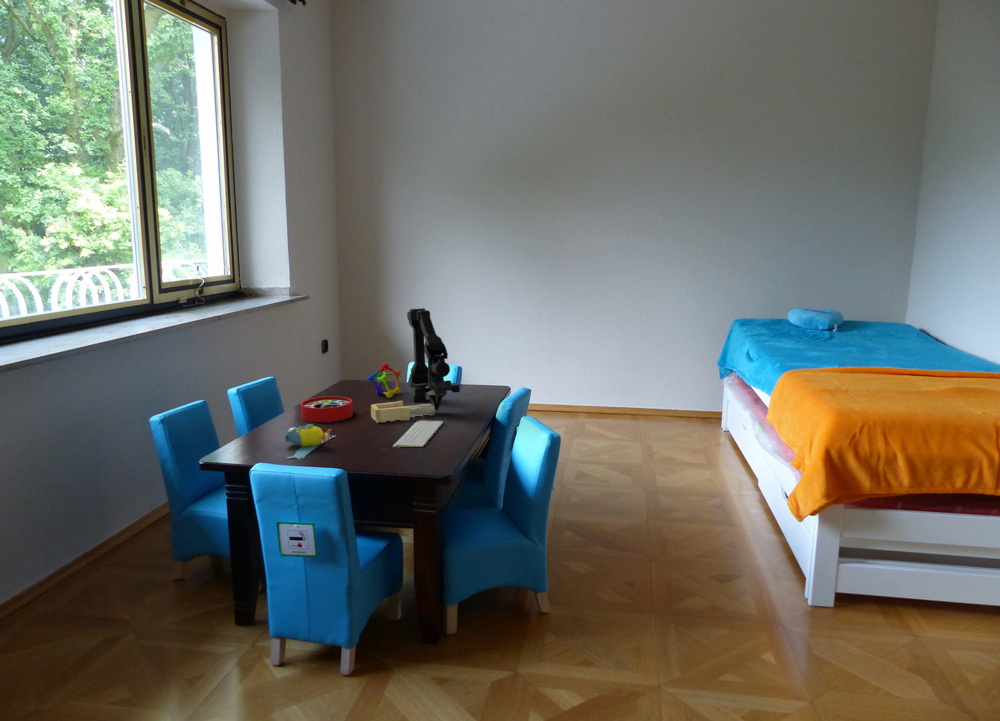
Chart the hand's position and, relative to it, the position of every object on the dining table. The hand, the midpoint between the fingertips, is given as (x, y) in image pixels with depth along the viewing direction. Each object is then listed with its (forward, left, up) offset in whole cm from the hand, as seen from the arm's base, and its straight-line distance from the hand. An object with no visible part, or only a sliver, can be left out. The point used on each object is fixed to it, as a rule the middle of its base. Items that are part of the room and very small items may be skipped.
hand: (436, 410), depth 285 cm
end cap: (0, -19, -1) cm, 19 cm away
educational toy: (-39, -12, -1) cm, 41 cm away
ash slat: (0, -13, -2) cm, 13 cm away
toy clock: (-14, -41, -2) cm, 43 cm away
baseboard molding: (+26, -15, -2) cm, 30 cm away
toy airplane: (+25, -53, -2) cm, 59 cm away
